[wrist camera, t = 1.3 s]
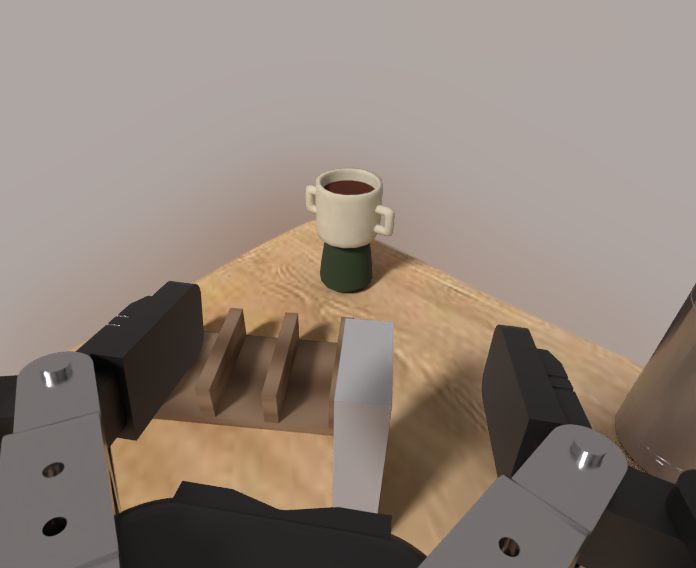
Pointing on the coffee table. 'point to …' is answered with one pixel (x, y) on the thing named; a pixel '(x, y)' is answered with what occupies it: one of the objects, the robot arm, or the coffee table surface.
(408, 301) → the coffee table surface
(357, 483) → the clay strip
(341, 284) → the character mug
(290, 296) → the coffee table surface
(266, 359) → the drying rack
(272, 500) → the coffee table surface
